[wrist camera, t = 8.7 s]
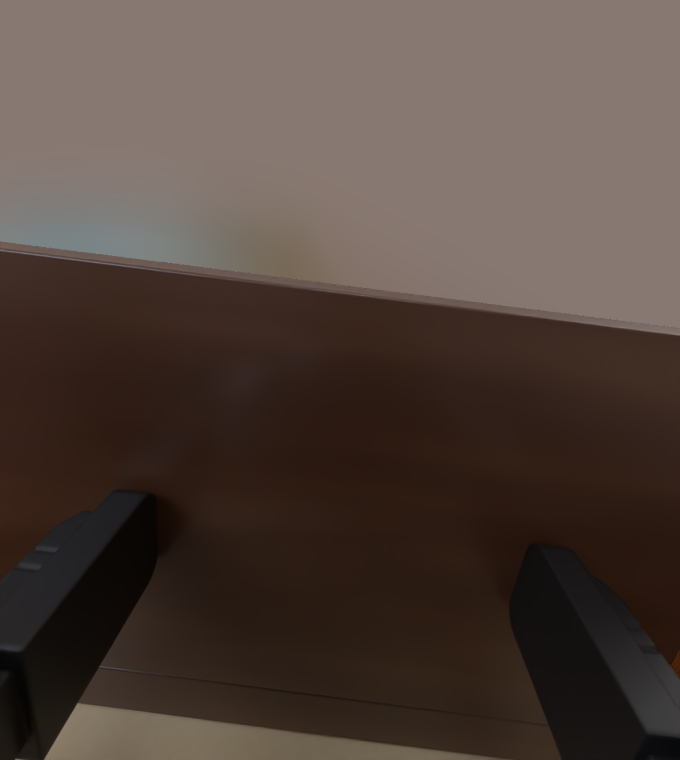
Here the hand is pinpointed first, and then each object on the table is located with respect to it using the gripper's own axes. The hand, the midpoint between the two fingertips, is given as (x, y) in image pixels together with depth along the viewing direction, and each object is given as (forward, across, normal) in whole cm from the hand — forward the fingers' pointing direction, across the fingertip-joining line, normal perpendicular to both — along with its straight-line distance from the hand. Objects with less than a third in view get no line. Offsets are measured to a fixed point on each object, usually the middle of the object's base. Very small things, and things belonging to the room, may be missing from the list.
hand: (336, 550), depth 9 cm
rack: (+5, 0, +6) cm, 8 cm away
